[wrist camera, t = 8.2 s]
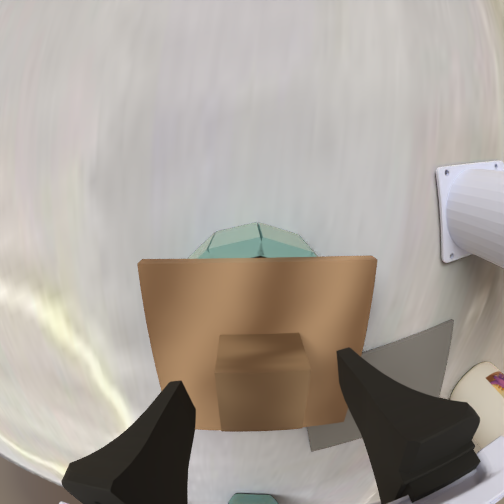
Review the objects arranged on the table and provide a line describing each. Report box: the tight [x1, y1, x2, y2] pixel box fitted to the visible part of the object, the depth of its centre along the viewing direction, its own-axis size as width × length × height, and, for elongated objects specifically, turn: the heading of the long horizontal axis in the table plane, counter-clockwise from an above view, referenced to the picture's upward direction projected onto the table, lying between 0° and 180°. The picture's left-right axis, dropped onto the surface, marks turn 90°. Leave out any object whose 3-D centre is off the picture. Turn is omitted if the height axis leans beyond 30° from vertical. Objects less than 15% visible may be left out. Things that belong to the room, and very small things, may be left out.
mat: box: [307, 319, 454, 451], centre depth 24 cm, size 16×13×1 cm
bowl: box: [188, 222, 318, 259], centre depth 19 cm, size 11×11×4 cm
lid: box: [138, 256, 377, 431], centre depth 15 cm, size 13×13×4 cm
